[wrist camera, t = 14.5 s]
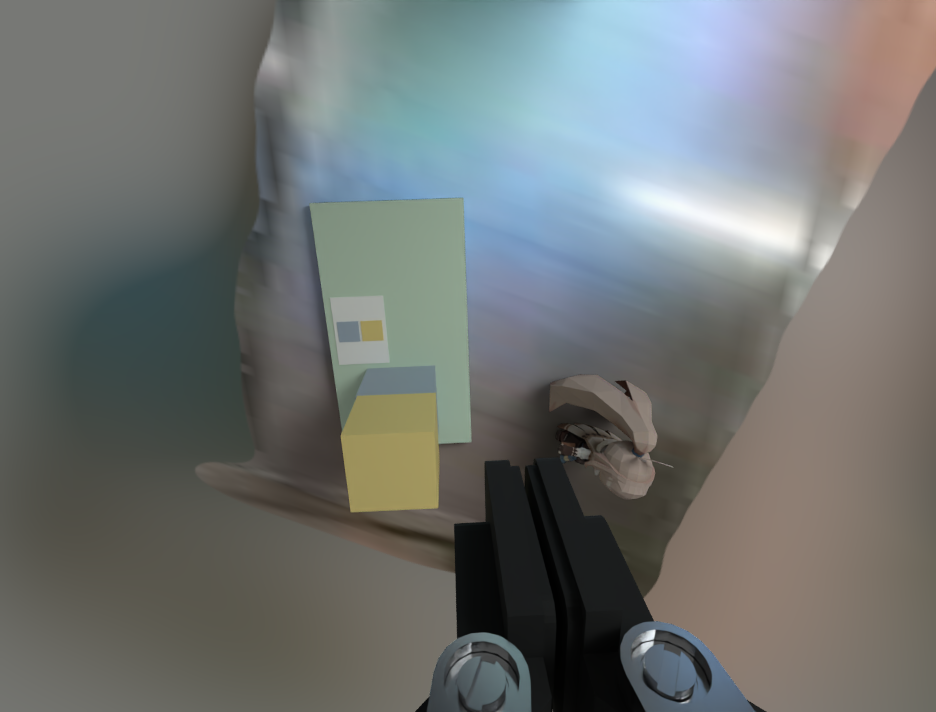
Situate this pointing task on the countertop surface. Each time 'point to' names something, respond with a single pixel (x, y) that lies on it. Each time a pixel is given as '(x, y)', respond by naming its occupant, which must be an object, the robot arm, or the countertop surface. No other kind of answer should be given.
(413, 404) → the brick
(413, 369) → the base brick
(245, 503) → the countertop surface
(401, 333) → the board
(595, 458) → the toy
